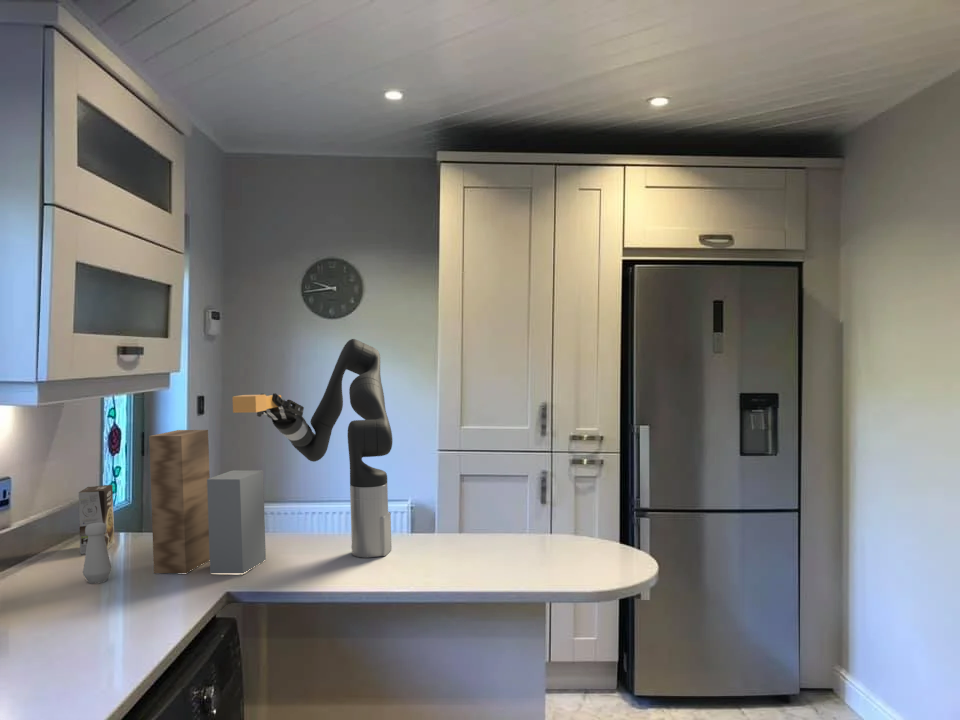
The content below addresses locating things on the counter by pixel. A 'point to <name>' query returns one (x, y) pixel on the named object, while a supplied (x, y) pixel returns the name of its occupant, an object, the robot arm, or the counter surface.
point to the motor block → (236, 521)
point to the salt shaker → (96, 554)
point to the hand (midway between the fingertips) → (267, 396)
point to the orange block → (252, 403)
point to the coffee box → (96, 513)
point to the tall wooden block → (179, 500)
